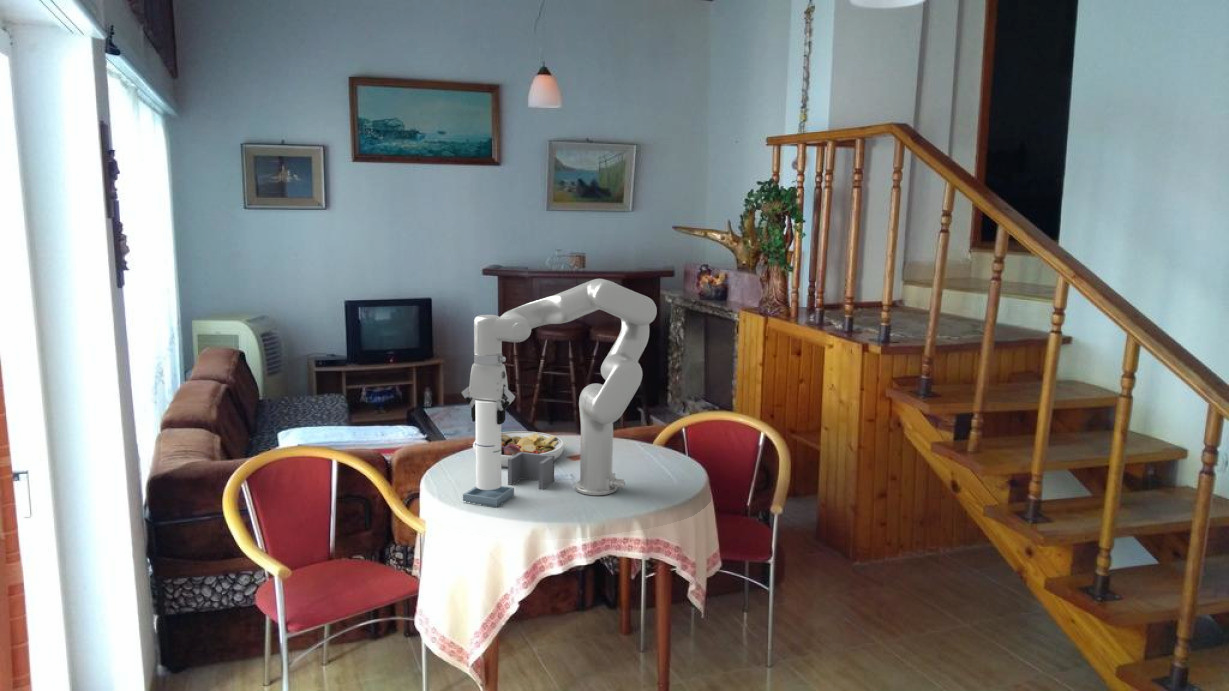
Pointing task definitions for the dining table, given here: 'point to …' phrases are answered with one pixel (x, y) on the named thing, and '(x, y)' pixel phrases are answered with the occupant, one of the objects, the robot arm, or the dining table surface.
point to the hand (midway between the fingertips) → (488, 421)
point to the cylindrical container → (487, 445)
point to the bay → (531, 468)
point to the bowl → (527, 444)
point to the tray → (489, 496)
